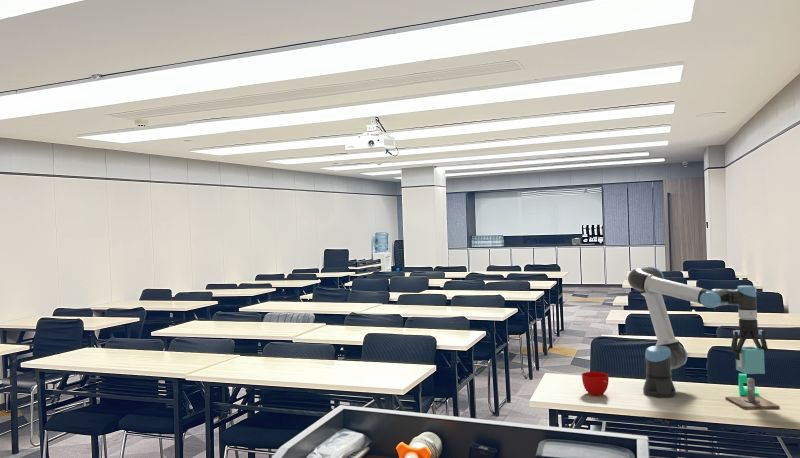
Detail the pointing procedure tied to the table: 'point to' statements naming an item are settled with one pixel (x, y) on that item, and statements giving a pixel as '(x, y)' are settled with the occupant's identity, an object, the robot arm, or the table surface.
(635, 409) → the table surface
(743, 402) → the board
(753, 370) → the teal open-top box
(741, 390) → the camera mount
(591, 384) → the ceramic cup
